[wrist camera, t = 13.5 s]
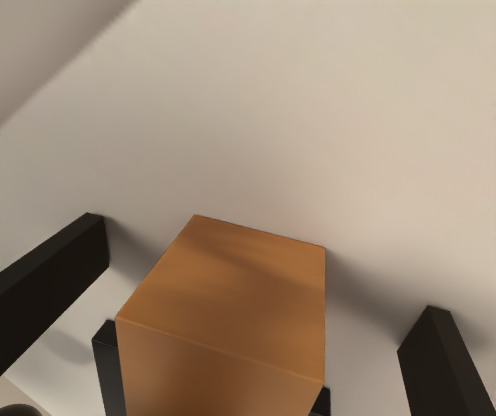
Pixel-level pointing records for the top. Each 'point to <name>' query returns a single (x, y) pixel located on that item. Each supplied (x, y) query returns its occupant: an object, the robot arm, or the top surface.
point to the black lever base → (112, 377)
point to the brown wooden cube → (226, 326)
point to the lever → (19, 410)
